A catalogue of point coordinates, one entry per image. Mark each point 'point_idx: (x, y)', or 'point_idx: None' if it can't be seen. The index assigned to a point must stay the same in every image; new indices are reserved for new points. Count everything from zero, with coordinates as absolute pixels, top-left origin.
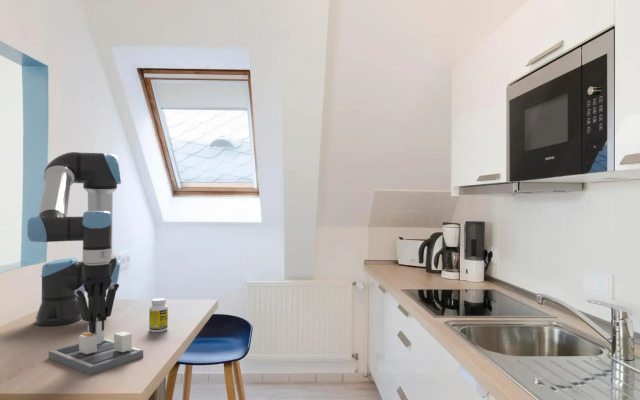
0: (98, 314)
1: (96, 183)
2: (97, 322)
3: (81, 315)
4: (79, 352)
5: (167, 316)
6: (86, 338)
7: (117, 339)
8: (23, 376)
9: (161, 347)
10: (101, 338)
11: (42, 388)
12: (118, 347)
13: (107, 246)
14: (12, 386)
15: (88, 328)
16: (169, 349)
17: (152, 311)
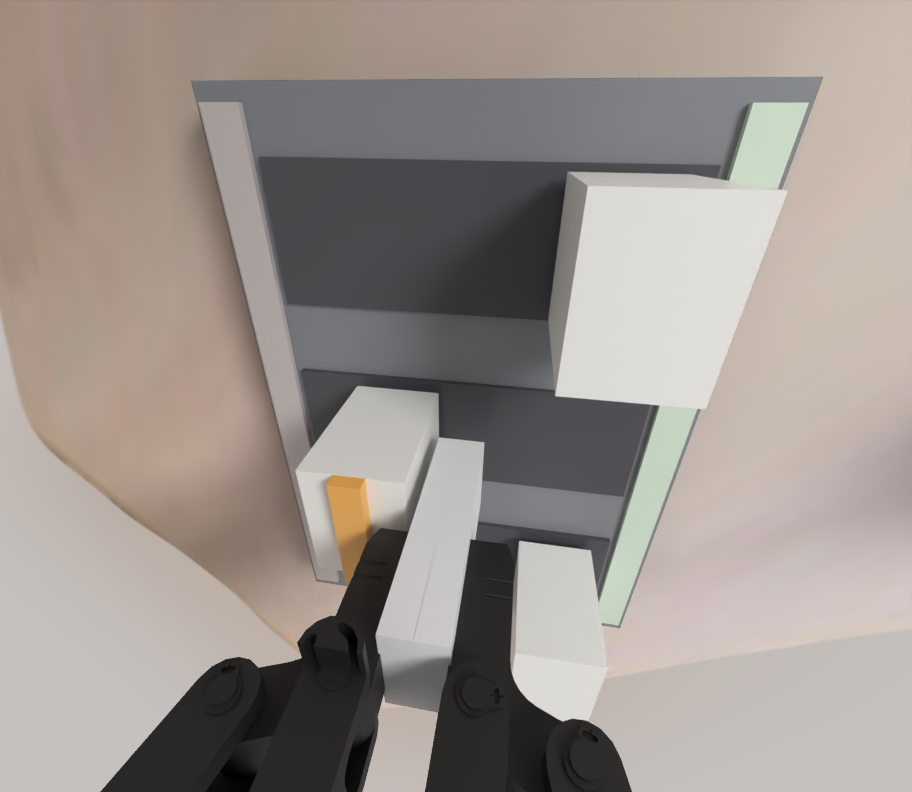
0: (448, 768)
1: None
2: (394, 698)
3: (137, 759)
4: (376, 358)
5: None
6: (320, 560)
7: (512, 640)
8: (76, 310)
9: (802, 584)
10: (475, 532)
11: (154, 501)
12: (513, 595)
13: None
14: (41, 387)
15: (579, 208)
16: (777, 627)
17: None
